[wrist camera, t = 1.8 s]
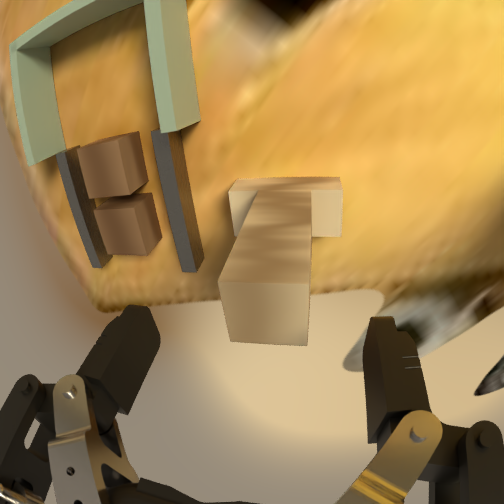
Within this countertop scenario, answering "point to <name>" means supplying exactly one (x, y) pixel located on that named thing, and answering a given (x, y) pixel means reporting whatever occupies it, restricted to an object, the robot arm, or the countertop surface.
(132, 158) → the brown block
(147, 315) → the robot arm
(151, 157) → the countertop surface
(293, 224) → the birch scraper
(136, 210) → the walnut chip
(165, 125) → the tray
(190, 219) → the rail slot
